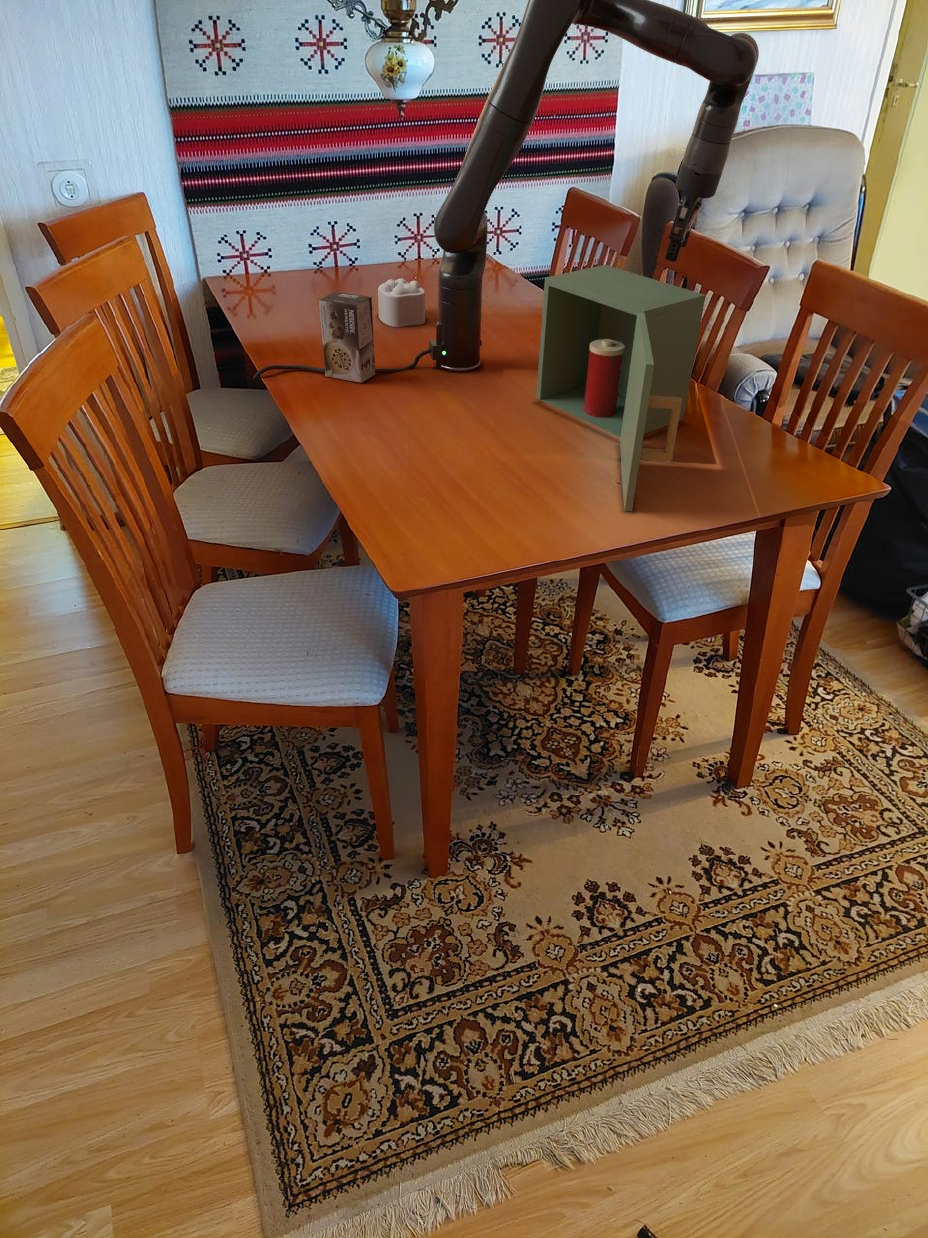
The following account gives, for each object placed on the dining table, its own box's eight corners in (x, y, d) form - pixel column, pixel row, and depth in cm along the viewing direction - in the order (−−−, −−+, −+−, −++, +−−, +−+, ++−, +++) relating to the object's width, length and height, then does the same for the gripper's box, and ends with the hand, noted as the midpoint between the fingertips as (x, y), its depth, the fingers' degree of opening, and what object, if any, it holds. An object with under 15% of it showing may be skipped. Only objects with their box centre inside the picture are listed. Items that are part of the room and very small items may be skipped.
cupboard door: (654, 448, 160) (676, 314, 146) (664, 513, 141) (690, 366, 126) (619, 446, 161) (637, 312, 147) (624, 511, 141) (645, 364, 127)
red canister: (582, 416, 169) (590, 345, 161) (582, 403, 174) (590, 333, 166) (616, 418, 168) (625, 347, 160) (615, 405, 173) (624, 335, 165)
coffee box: (376, 373, 188) (373, 296, 178) (361, 384, 183) (357, 304, 173) (339, 366, 191) (334, 290, 181) (323, 376, 186) (317, 298, 176)
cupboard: (625, 445, 161) (644, 310, 147) (535, 403, 176) (544, 277, 162) (682, 424, 170) (705, 294, 155) (591, 385, 185) (605, 264, 170)
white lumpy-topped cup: (389, 328, 212) (388, 291, 207) (371, 312, 222) (370, 276, 216) (429, 323, 216) (429, 286, 210) (410, 308, 225) (409, 272, 220)
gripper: (691, 148, 165) (665, 235, 176) (674, 168, 155) (648, 259, 167) (730, 159, 164) (701, 246, 175) (715, 180, 154) (686, 270, 165)
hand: (675, 252), depth 171 cm, fingers open, 8 cm apart
